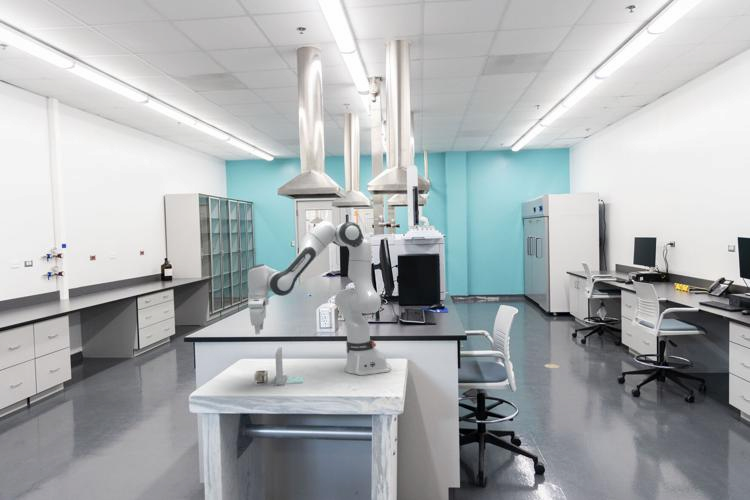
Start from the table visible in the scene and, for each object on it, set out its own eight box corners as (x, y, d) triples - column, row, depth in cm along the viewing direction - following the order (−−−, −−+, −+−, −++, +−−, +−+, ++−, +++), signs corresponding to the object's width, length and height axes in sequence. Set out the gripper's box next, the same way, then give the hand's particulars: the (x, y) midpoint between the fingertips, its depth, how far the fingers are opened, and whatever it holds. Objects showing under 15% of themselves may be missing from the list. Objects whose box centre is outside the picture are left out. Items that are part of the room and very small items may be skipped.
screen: (286, 376, 212) (285, 347, 212) (284, 385, 200) (282, 354, 200) (275, 377, 212) (274, 347, 211) (272, 385, 200) (271, 354, 199)
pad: (303, 378, 210) (303, 376, 210) (302, 383, 203) (302, 381, 203) (288, 378, 209) (288, 377, 209) (286, 384, 202) (286, 382, 202)
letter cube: (268, 381, 207) (267, 370, 207) (266, 384, 202) (266, 373, 202) (256, 381, 207) (256, 370, 206) (254, 385, 202) (254, 374, 201)
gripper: (255, 297, 213) (255, 327, 213) (247, 304, 192) (248, 337, 193) (268, 297, 213) (269, 326, 214) (262, 304, 193) (263, 336, 194)
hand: (259, 331), depth 203 cm, fingers open, 8 cm apart
